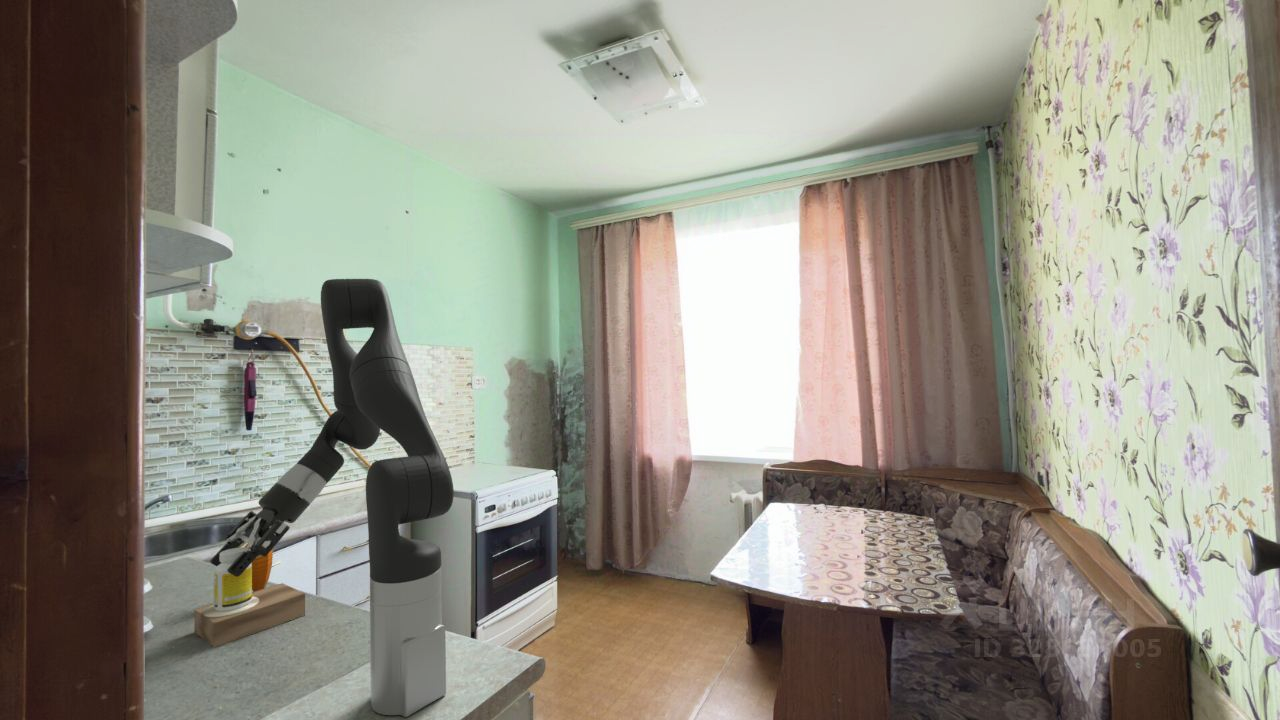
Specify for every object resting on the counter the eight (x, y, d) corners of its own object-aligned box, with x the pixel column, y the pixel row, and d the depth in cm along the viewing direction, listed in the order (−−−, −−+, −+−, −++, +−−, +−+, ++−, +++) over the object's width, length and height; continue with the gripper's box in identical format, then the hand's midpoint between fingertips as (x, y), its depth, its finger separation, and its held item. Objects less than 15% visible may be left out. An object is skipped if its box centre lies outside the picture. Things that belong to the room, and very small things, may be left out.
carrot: (257, 601, 107) (257, 527, 107) (237, 599, 108) (237, 526, 108) (278, 591, 111) (278, 520, 112) (259, 589, 112) (259, 519, 113)
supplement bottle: (259, 599, 97) (259, 546, 97) (231, 612, 91) (231, 556, 92) (234, 598, 98) (234, 545, 98) (206, 611, 92) (206, 555, 93)
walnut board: (305, 614, 100) (305, 592, 100) (214, 647, 88) (214, 621, 88) (282, 603, 105) (282, 581, 105) (194, 632, 94) (194, 607, 94)
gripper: (263, 478, 105) (190, 552, 95) (295, 485, 97) (219, 566, 87) (293, 499, 109) (226, 572, 100) (325, 507, 101) (256, 587, 92)
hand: (223, 569), depth 93 cm, fingers open, 8 cm apart
